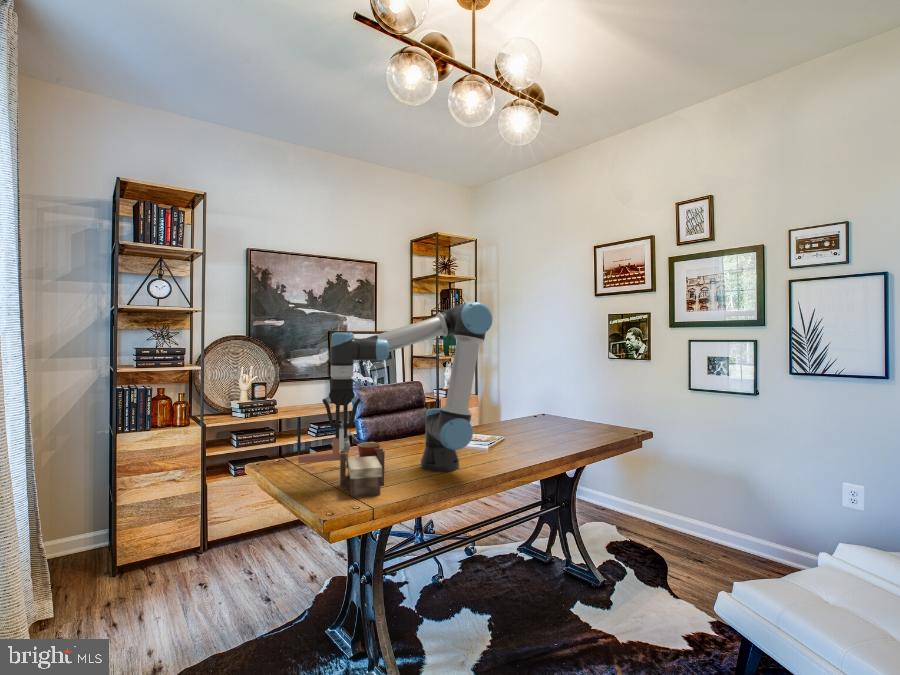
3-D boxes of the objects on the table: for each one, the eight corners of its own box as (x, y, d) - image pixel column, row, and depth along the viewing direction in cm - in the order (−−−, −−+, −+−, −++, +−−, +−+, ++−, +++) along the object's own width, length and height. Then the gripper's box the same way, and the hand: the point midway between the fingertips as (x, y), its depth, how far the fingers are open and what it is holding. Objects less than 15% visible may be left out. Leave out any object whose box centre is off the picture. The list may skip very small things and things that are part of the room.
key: (347, 458, 159) (347, 437, 159) (348, 459, 157) (348, 439, 158) (298, 461, 155) (298, 440, 155) (298, 463, 153) (298, 441, 153)
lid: (375, 464, 164) (375, 456, 164) (382, 476, 150) (382, 467, 150) (346, 466, 161) (346, 457, 161) (350, 479, 147) (350, 469, 147)
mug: (352, 471, 176) (352, 444, 176) (370, 467, 182) (370, 441, 182) (372, 478, 168) (372, 449, 168) (390, 473, 174) (391, 445, 174)
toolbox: (382, 481, 164) (382, 448, 164) (388, 494, 151) (389, 458, 151) (339, 484, 160) (340, 451, 160) (342, 498, 147) (343, 461, 147)
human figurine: (333, 471, 177) (334, 423, 177) (328, 469, 179) (329, 422, 179) (360, 465, 185) (361, 420, 185) (355, 463, 188) (356, 418, 188)
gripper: (322, 379, 152) (321, 451, 152) (362, 378, 156) (361, 449, 156) (321, 377, 160) (320, 446, 159) (360, 376, 163) (359, 444, 163)
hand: (341, 447), depth 158 cm, fingers closed
